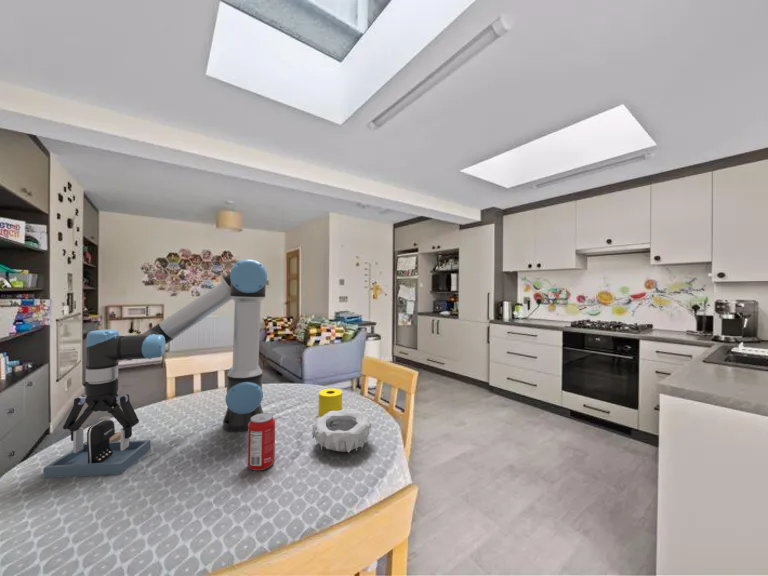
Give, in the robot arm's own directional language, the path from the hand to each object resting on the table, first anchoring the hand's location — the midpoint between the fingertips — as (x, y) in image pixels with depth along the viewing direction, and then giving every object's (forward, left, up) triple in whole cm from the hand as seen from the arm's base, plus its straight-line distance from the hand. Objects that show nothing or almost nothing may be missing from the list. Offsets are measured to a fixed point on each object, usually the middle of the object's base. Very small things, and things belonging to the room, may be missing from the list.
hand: (101, 449), depth 97 cm
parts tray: (0, 0, -4) cm, 4 cm away
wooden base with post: (+8, -13, -4) cm, 16 cm away
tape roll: (-69, -30, -4) cm, 75 cm away
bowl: (-74, -2, -4) cm, 74 cm away
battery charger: (0, 0, -3) cm, 3 cm away
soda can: (-49, +7, -4) cm, 50 cm away
